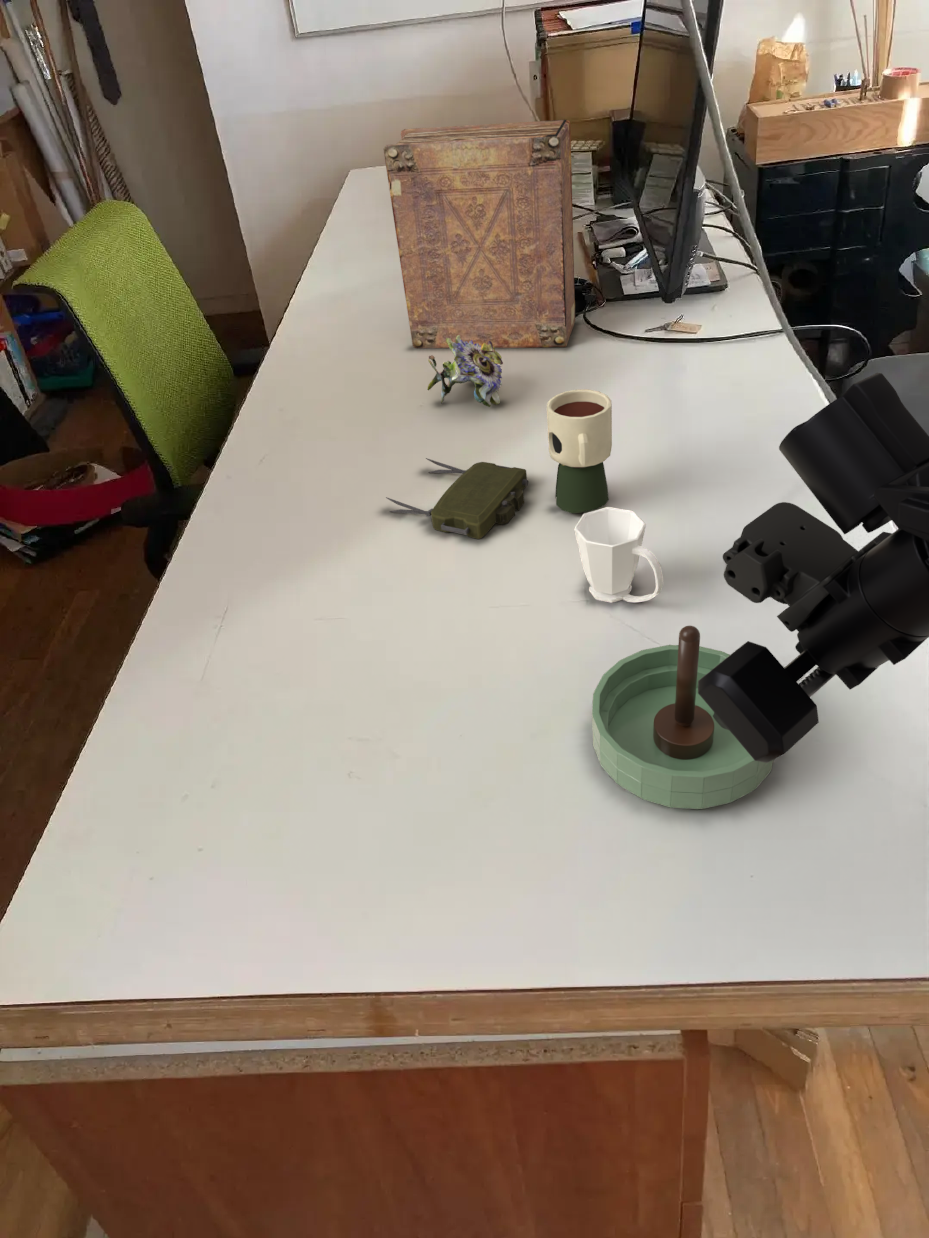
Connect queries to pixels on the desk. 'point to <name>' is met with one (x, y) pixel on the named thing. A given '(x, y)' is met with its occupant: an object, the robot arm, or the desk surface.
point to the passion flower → (471, 370)
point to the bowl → (630, 748)
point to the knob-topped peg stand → (685, 707)
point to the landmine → (476, 499)
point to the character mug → (580, 447)
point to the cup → (614, 553)
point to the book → (485, 232)
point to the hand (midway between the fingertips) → (760, 685)
